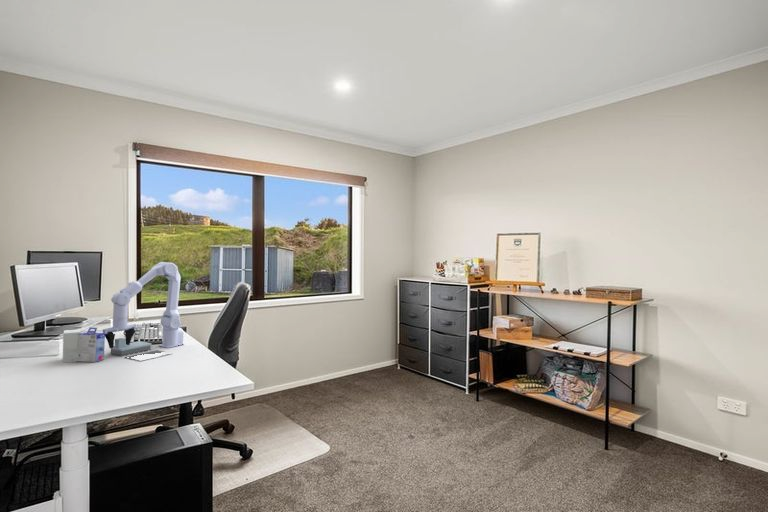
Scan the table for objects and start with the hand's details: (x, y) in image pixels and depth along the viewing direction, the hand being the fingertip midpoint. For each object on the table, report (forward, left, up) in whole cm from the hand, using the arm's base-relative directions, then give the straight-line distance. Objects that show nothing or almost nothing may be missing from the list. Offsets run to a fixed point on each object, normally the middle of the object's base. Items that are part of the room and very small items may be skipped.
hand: (119, 346), depth 194 cm
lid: (-6, 0, -1) cm, 6 cm away
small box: (+17, -7, -4) cm, 19 cm away
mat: (-6, +14, -4) cm, 16 cm away
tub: (-6, 0, -4) cm, 7 cm away
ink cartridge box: (+13, 0, -4) cm, 14 cm away
